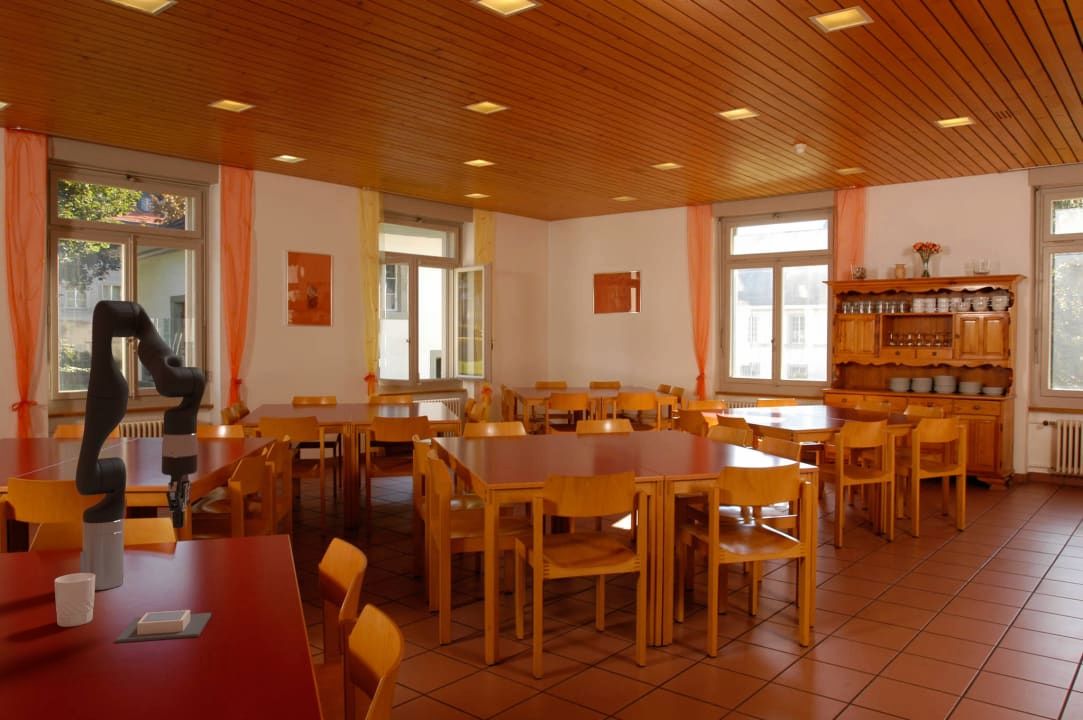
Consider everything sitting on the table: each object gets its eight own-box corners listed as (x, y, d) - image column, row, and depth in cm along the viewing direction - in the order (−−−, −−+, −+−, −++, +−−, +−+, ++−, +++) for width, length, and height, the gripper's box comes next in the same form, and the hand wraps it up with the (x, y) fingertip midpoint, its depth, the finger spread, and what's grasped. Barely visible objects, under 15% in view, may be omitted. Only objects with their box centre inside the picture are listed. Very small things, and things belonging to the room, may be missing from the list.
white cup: (103, 618, 175) (103, 574, 175) (72, 629, 168) (72, 584, 168) (77, 614, 178) (77, 571, 178) (45, 625, 170) (46, 580, 170)
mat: (116, 642, 160) (116, 639, 160) (135, 620, 174) (135, 617, 174) (198, 636, 164) (198, 633, 164) (211, 615, 177) (211, 612, 177)
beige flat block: (146, 623, 170) (137, 634, 163) (146, 612, 170) (137, 622, 163) (190, 620, 172) (182, 631, 165) (190, 609, 172) (183, 619, 165)
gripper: (170, 449, 184) (169, 521, 184) (154, 457, 171) (153, 534, 171) (203, 448, 185) (202, 520, 186) (190, 457, 172) (189, 533, 173)
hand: (178, 527), depth 178 cm, fingers closed
